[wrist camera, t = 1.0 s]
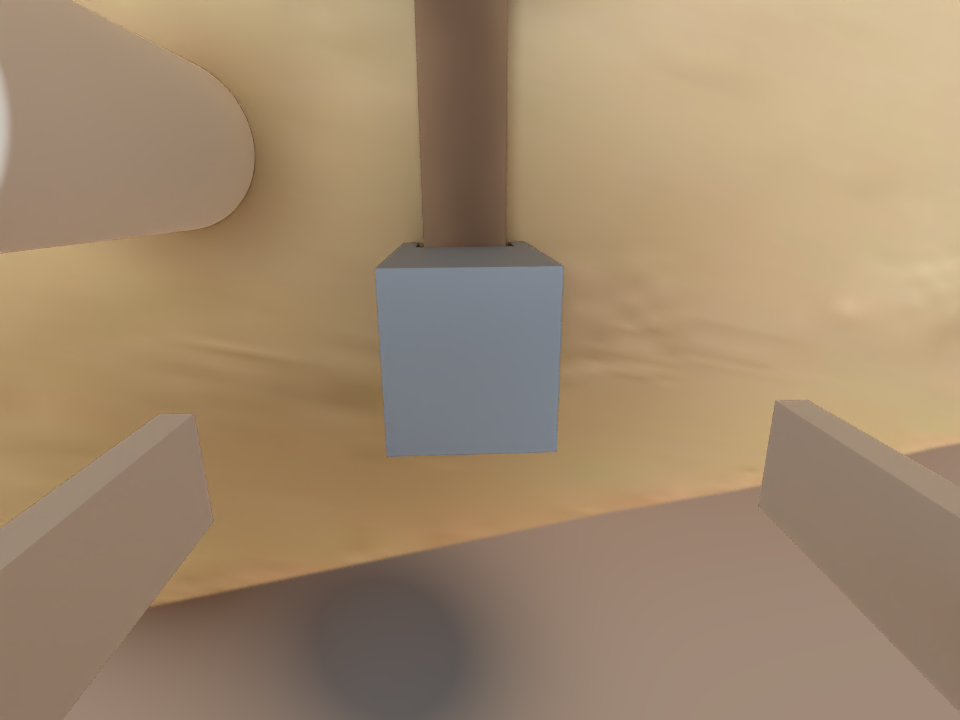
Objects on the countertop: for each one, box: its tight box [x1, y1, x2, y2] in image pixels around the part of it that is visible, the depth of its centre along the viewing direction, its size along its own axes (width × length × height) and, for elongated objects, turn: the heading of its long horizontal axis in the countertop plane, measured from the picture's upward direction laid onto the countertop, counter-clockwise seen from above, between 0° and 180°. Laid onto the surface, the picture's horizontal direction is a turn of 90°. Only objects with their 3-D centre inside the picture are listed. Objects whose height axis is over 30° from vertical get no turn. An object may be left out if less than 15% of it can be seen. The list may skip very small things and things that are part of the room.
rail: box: [415, 0, 507, 247], centre depth 26 cm, size 5×21×5 cm, turn 0°
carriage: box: [375, 242, 564, 457], centre depth 24 cm, size 6×7×11 cm
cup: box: [0, 0, 255, 253], centre depth 19 cm, size 8×8×16 cm
